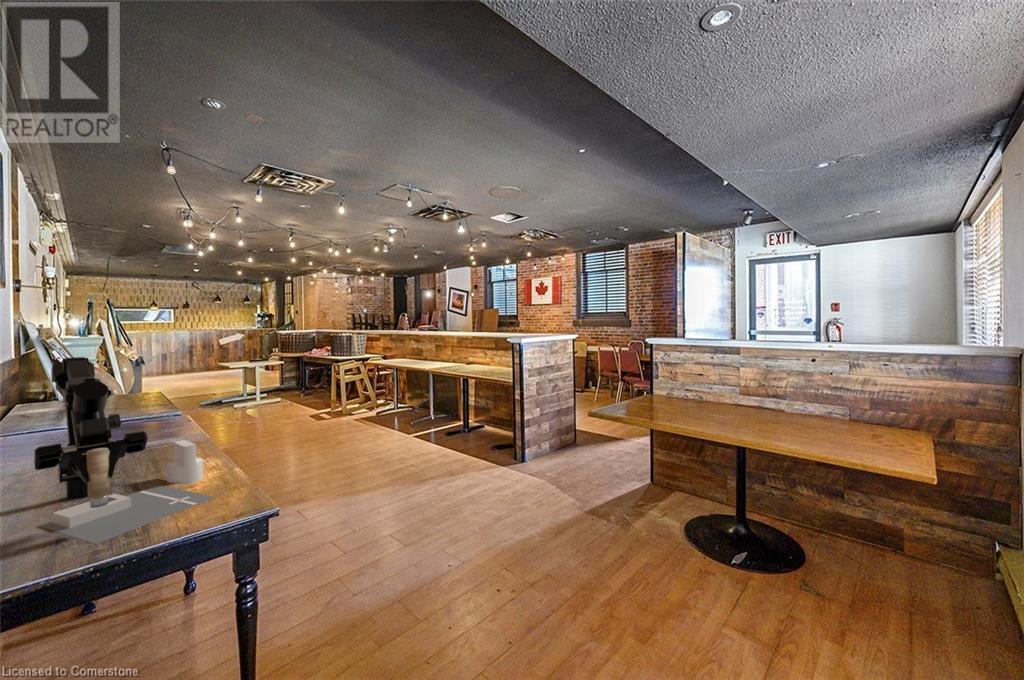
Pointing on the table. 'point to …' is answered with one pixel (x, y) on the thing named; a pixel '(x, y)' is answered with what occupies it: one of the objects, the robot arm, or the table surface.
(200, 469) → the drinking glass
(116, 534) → the floor panel
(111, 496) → the white flat block
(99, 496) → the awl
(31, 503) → the table surface
